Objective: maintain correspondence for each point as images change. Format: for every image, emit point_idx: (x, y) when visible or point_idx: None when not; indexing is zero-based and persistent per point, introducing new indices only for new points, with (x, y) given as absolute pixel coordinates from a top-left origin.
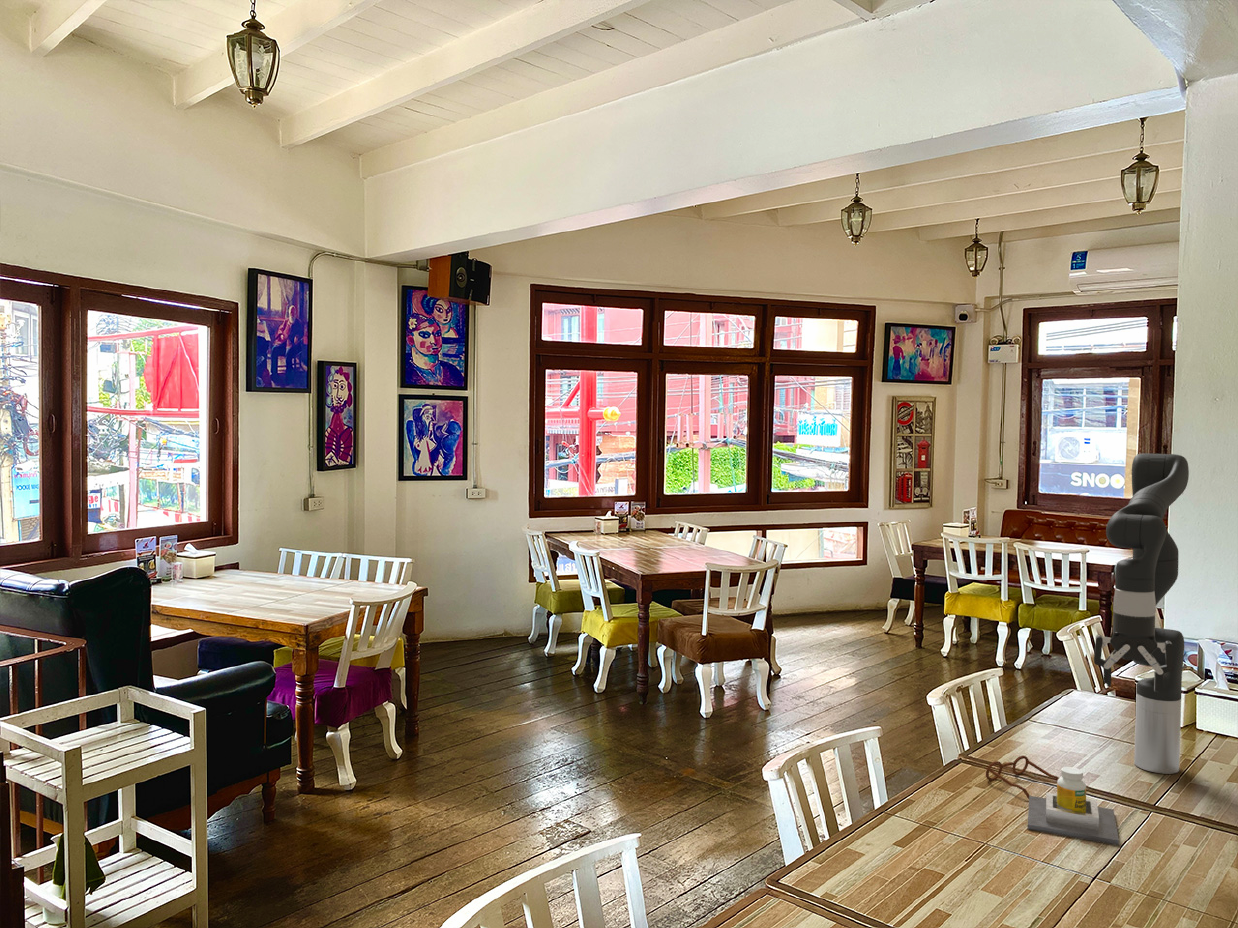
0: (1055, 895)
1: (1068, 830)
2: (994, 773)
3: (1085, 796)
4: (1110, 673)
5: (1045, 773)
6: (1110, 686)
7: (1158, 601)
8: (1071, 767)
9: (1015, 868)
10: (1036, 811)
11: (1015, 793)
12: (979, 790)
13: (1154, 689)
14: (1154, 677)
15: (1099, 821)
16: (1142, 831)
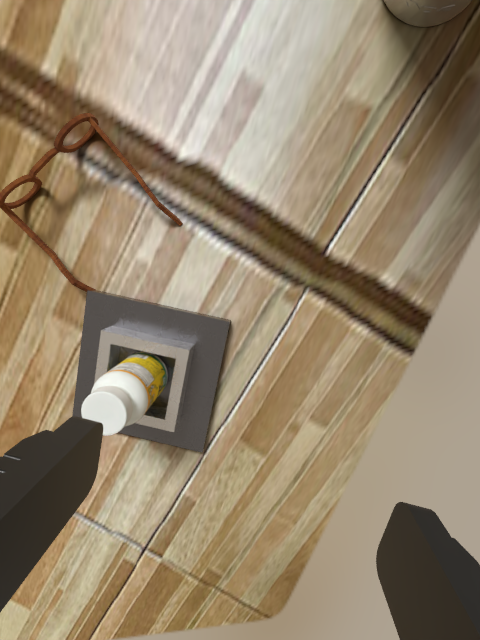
0: (89, 598)
1: (132, 431)
2: (16, 222)
3: (150, 405)
4: (3, 595)
5: (128, 167)
6: (89, 482)
7: None
8: (105, 394)
9: None
10: (91, 364)
11: (71, 261)
12: (8, 263)
13: (389, 539)
14: (451, 622)
15: (190, 384)
16: (259, 385)
